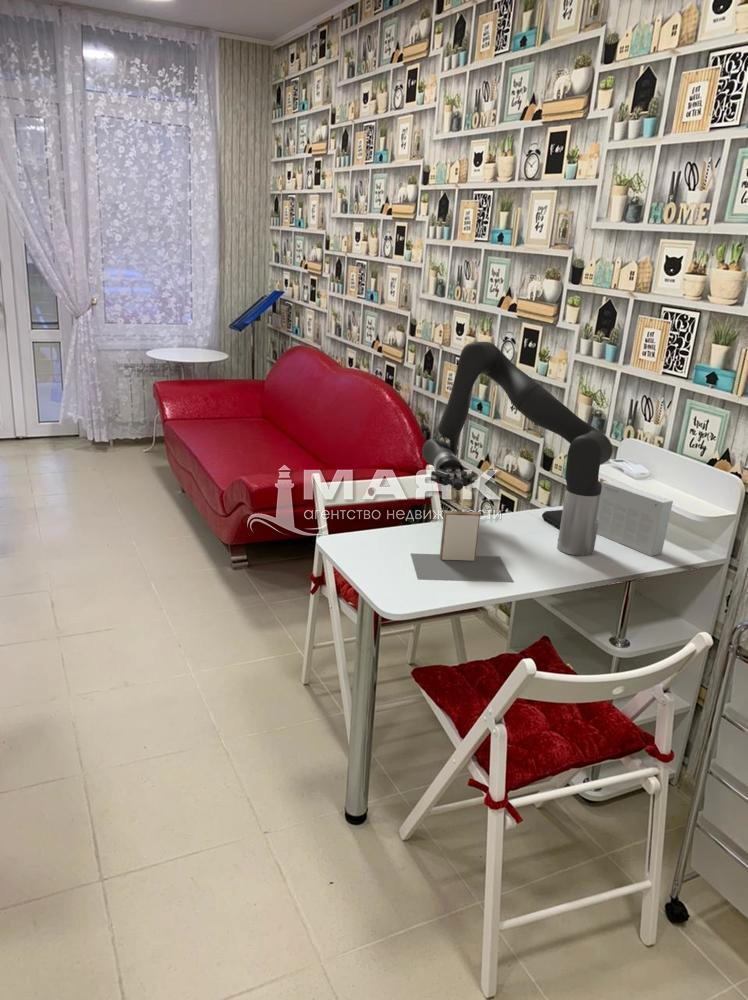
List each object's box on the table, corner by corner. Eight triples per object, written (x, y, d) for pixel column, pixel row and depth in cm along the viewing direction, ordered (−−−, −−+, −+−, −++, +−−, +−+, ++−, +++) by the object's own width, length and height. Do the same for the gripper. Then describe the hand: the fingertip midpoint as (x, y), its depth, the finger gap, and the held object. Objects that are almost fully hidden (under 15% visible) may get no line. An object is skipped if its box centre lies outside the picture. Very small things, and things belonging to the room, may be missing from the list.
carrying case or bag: (596, 533, 225) (567, 516, 238) (598, 523, 224) (568, 507, 237) (566, 536, 221) (538, 519, 234) (568, 526, 220) (540, 509, 233)
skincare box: (663, 553, 212) (674, 500, 207) (651, 557, 209) (662, 503, 204) (603, 529, 228) (612, 479, 223) (591, 531, 225) (600, 481, 220)
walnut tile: (473, 558, 198) (478, 512, 194) (474, 561, 196) (480, 514, 192) (439, 557, 198) (444, 510, 193) (440, 560, 196) (445, 513, 191)
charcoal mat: (499, 558, 201) (499, 556, 201) (513, 584, 186) (514, 582, 186) (410, 555, 199) (410, 553, 199) (417, 581, 184) (417, 579, 184)
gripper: (426, 454, 213) (435, 472, 197) (472, 456, 214) (484, 474, 198) (424, 479, 216) (432, 499, 199) (469, 481, 217) (481, 501, 201)
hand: (458, 486), depth 199 cm, fingers closed
